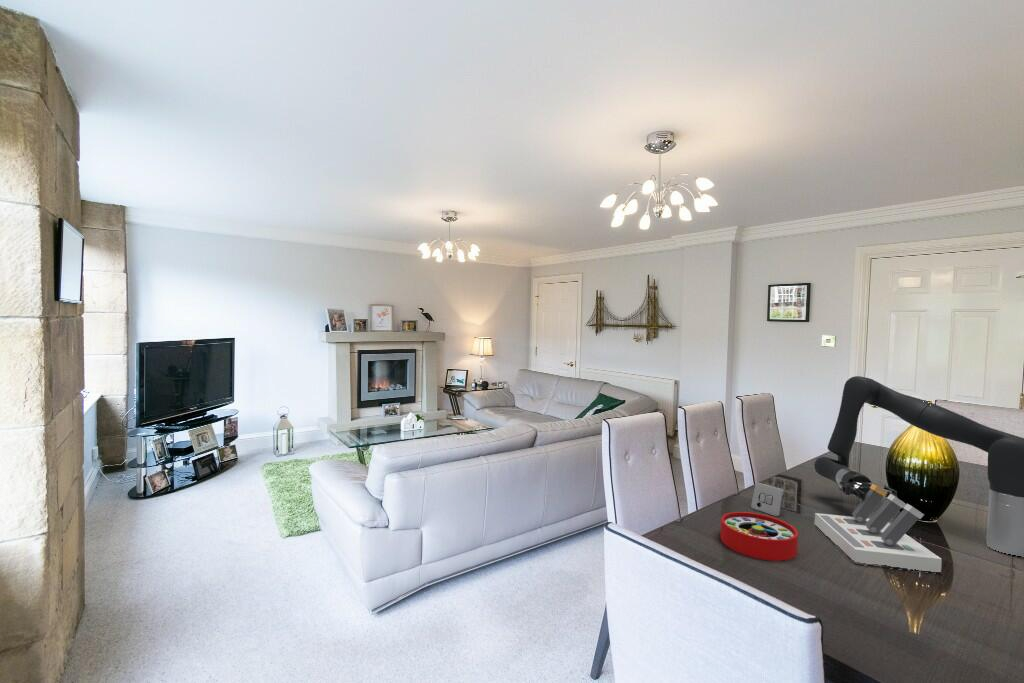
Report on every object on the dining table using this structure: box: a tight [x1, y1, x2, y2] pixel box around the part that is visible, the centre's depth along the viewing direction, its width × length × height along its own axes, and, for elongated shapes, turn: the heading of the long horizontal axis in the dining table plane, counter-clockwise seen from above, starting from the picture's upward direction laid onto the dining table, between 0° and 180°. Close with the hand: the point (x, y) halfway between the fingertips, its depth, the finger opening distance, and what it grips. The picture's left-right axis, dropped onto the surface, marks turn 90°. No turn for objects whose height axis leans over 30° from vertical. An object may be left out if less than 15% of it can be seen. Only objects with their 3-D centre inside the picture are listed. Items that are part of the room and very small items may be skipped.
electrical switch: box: [750, 482, 785, 517], centre depth 164 cm, size 9×5×9 cm, turn 35°
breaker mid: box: [866, 494, 907, 533], centre depth 137 cm, size 3×3×12 cm
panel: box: [814, 512, 942, 573], centre depth 138 cm, size 20×26×4 cm
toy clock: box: [720, 511, 799, 562], centre depth 138 cm, size 20×6×20 cm
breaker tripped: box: [851, 483, 888, 522], centre depth 145 cm, size 3×3×12 cm
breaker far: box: [880, 503, 925, 545], centre depth 129 cm, size 3×3×12 cm
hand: (879, 498), depth 144 cm, fingers open, 8 cm apart
